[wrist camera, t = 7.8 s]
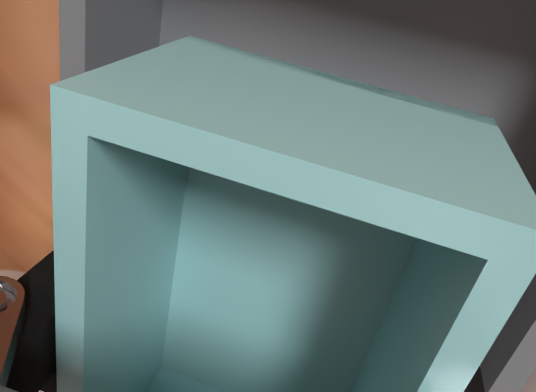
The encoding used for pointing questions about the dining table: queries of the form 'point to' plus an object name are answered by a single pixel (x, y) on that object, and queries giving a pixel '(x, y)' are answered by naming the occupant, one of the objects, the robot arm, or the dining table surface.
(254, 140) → the small crate
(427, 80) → the large crate
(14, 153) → the dining table surface
